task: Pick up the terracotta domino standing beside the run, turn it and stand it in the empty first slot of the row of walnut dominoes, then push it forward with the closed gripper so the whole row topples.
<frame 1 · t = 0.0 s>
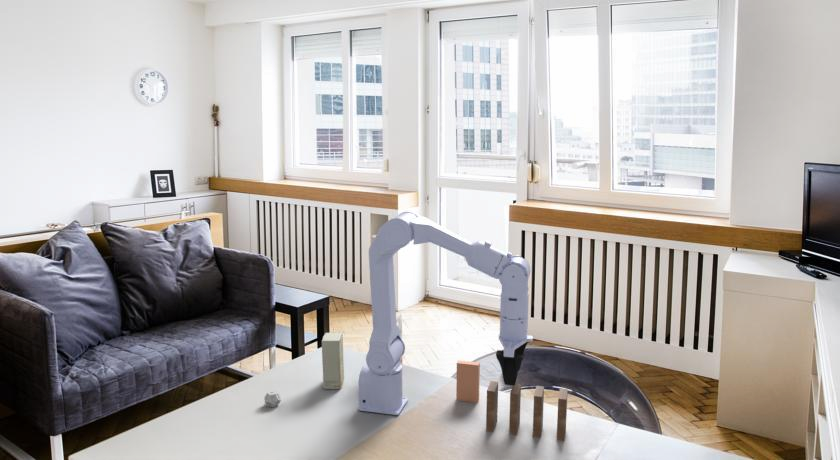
hand: (512, 377, 141), 10 cm above the table, tool pointing down, fingers open, 7 cm apart
ink cartridge box: (389, 373, 168), on the table
domino 4: (537, 431, 138), on the table
domino 5: (561, 434, 137), on the table
domino 3: (514, 428, 139), on the table
domino 2: (491, 426, 141), on the table
head domino: (467, 399, 153), on the table
game die: (272, 406, 150), on the table
skincare box: (333, 384, 161), on the table
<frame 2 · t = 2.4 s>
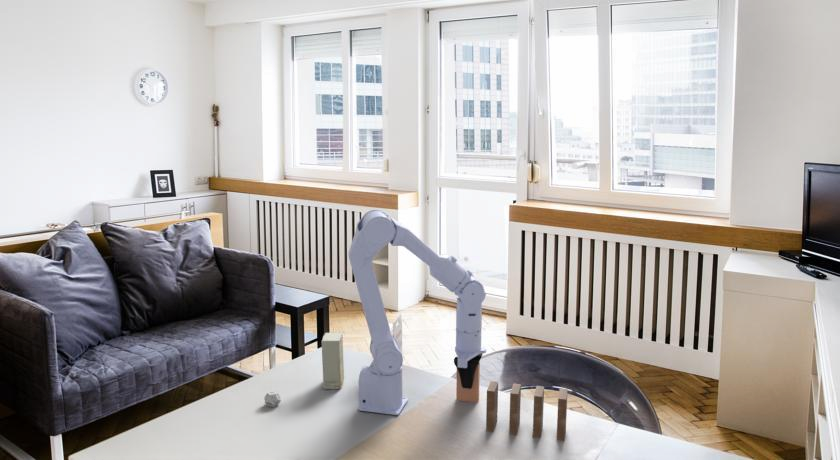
hand: (467, 385, 152), 3 cm above the table, tool pointing down, fingers closed on head domino, 2 cm apart
head domino: (467, 399, 153), on the table, touching gripper
everything else where it was.
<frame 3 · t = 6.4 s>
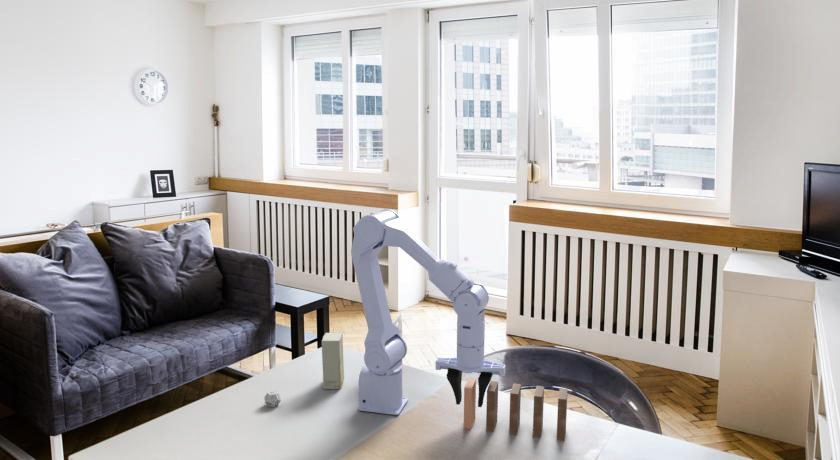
hand: (469, 403, 141), 4 cm above the table, tool pointing down, fingers open, 4 cm apart
domino 2: (491, 425, 141), on the table, touching gripper
head domino: (469, 423, 142), on the table
everything else where it was.
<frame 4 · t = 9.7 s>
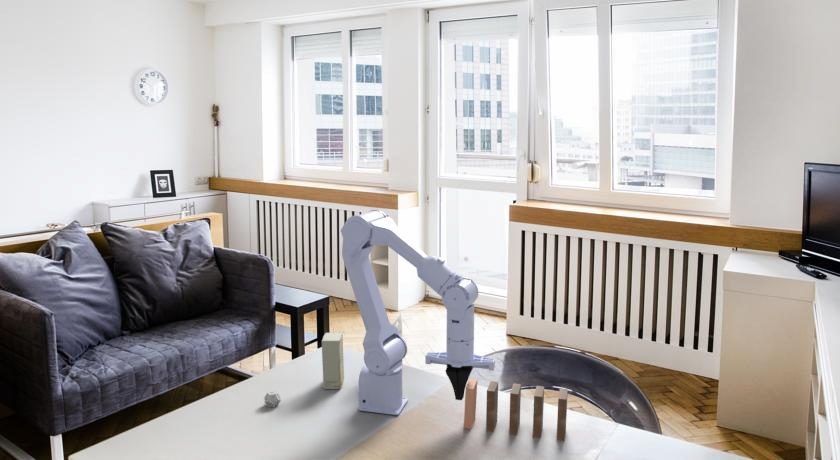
hand: (459, 398, 141), 5 cm above the table, tool pointing down, fingers closed
domino 2: (491, 426, 141), on the table
head domino: (469, 423, 142), on the table, touching gripper
everything else where it was.
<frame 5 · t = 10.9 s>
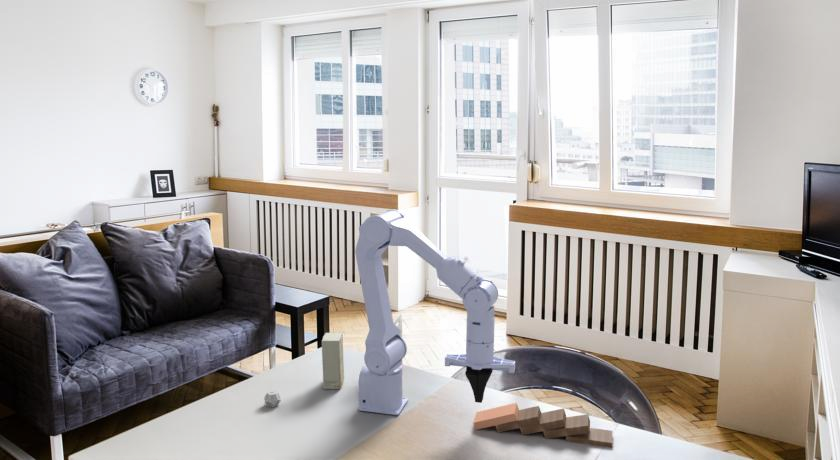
hand: (479, 400, 140), 5 cm above the table, tool pointing down, fingers closed
domino 4: (545, 429, 138), point 1 cm above the table, tilted 74°, touching domino 3
domino 5: (566, 434, 137), on the table, tilted 90°
domino 3: (522, 425, 139), point 1 cm above the table, tilted 71°, touching domino 2, domino 4
domino 2: (497, 423, 140), point 1 cm above the table, tilted 71°, touching domino 3, head domino
head domino: (476, 420, 141), point 1 cm above the table, tilted 70°, touching domino 2
everything else where it was.
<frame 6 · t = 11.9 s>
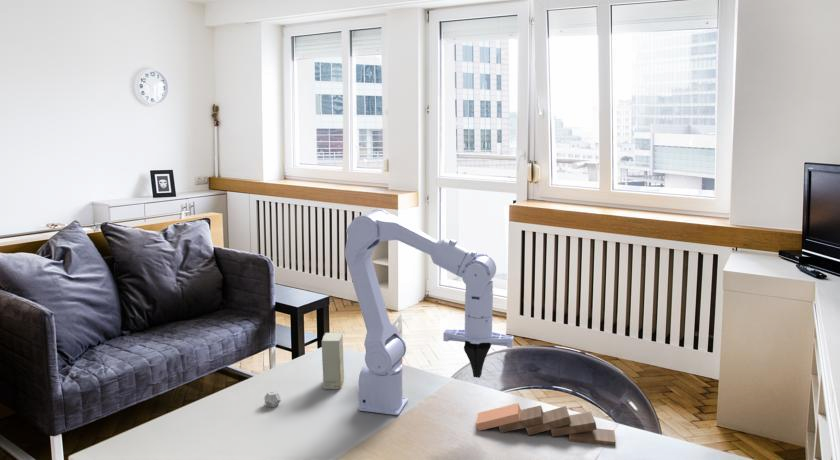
hand: (477, 375, 141), 10 cm above the table, tool pointing down, fingers closed
domino 4: (550, 427, 138), point 1 cm above the table, tilted 78°, touching domino 3
domino 3: (526, 426, 139), point 1 cm above the table, tilted 70°, touching domino 4
domino 2: (500, 423, 140), point 1 cm above the table, tilted 71°, touching head domino
head domino: (478, 421, 141), point 1 cm above the table, tilted 70°, touching domino 2
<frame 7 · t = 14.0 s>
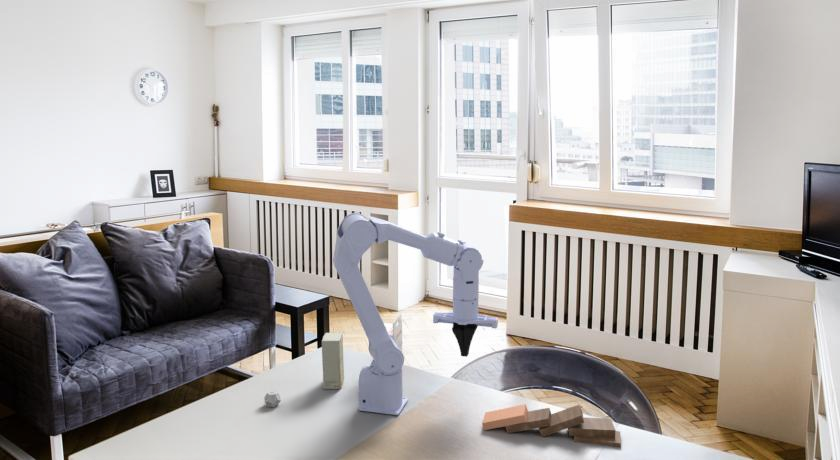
hand: (464, 354, 152), 10 cm above the table, tool pointing down, fingers closed
domino 4: (568, 426, 137), point 2 cm above the table, tilted 90°, touching domino 3, domino 5
domino 5: (574, 435, 137), on the table, tilted 90°, touching domino 4
domino 3: (540, 427, 138), point 1 cm above the table, tilted 65°, touching domino 2, domino 4
domino 2: (507, 424, 140), point 1 cm above the table, tilted 73°, touching domino 3, head domino
head domino: (484, 421, 141), point 1 cm above the table, tilted 72°, touching domino 2
everything else where it was.
at the end: domino 5 tilted 90°; head domino tilted 72°; head domino inside the target area (1.8 cm from its centre), point 0.8 cm above the table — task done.
